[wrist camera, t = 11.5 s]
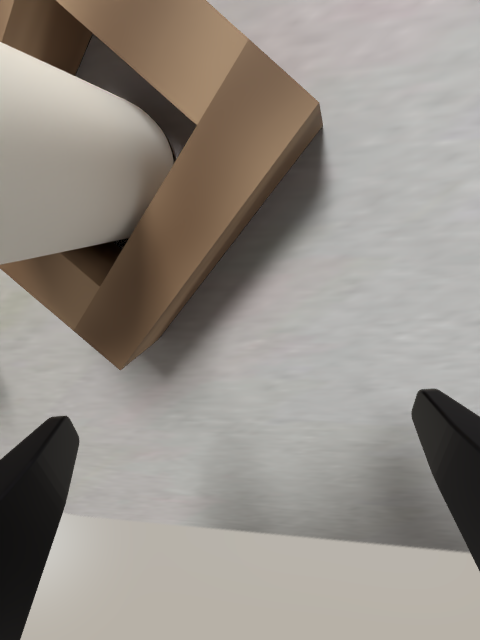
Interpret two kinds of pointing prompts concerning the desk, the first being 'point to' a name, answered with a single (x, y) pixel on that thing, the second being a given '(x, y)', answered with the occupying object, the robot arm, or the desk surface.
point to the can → (70, 161)
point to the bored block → (186, 173)
